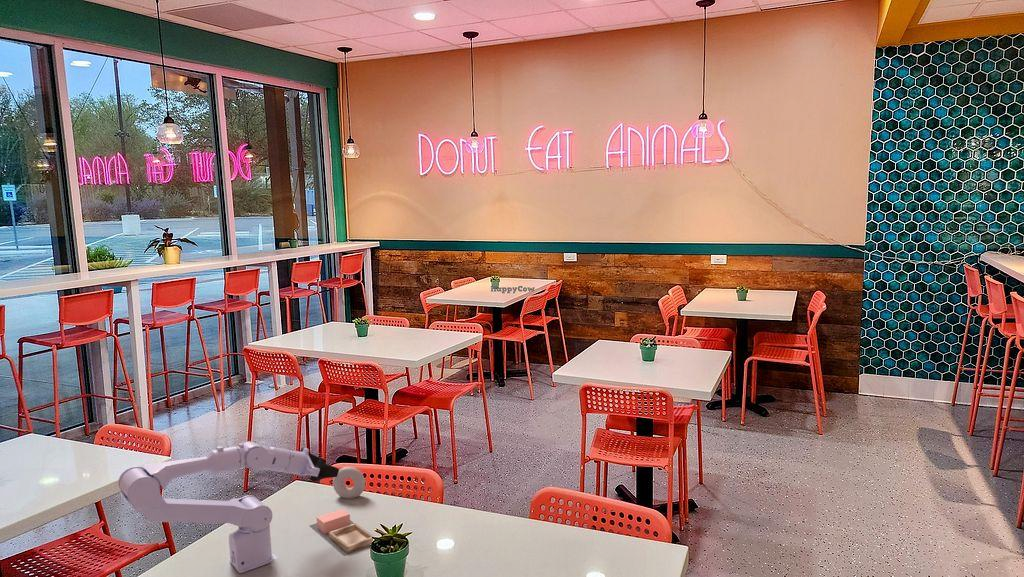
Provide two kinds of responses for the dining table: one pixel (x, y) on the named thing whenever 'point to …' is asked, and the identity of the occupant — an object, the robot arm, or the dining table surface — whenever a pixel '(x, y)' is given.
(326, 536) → the mat
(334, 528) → the card deck
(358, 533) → the tray
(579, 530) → the dining table surface
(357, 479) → the donut
